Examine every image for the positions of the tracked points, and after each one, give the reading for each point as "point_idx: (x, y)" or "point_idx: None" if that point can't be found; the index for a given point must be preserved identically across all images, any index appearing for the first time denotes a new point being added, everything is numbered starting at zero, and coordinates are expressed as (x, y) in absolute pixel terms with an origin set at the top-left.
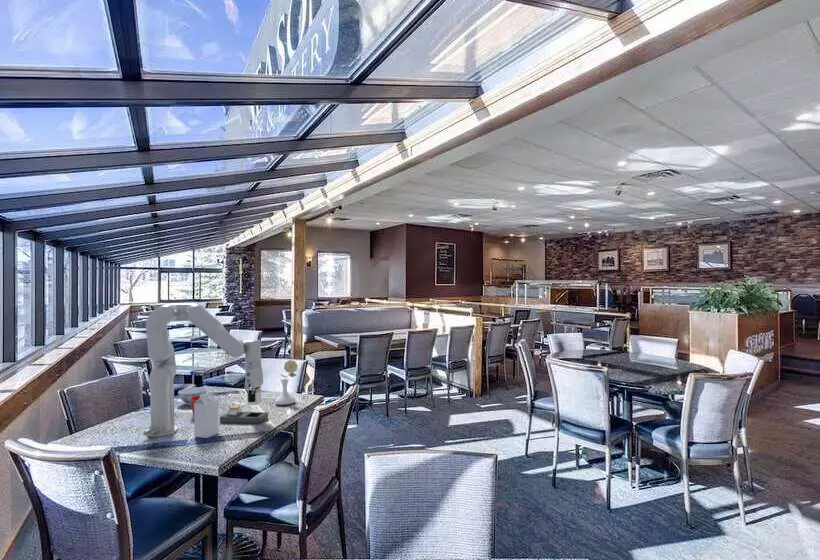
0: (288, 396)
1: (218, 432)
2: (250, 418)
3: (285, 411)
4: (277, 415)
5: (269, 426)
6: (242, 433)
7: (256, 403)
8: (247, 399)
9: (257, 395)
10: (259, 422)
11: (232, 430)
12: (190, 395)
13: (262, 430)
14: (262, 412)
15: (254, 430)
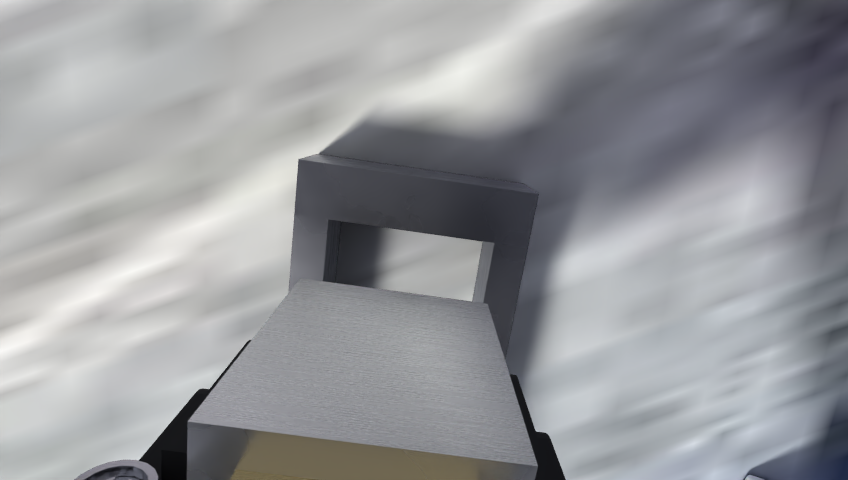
0: None
1: (753, 477)
2: (512, 305)
3: (30, 15)
4: (203, 71)
5: (621, 30)
6: (803, 256)
7: (490, 319)
8: None
9: (461, 394)
10: (524, 185)
11: (686, 384)
12: None
13: (753, 68)
14: (301, 234)
15: (733, 163)
